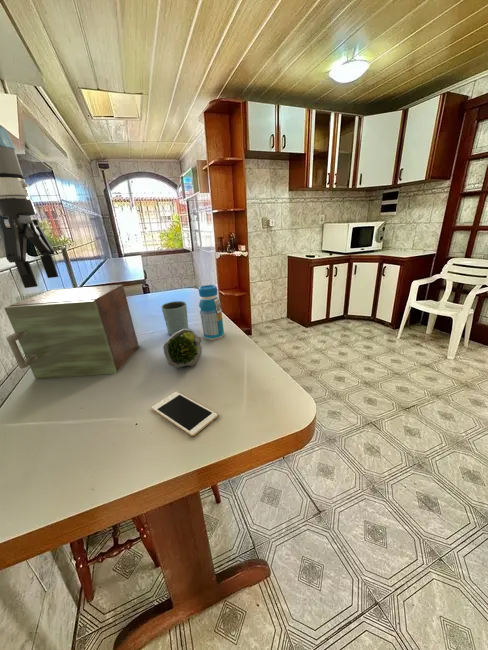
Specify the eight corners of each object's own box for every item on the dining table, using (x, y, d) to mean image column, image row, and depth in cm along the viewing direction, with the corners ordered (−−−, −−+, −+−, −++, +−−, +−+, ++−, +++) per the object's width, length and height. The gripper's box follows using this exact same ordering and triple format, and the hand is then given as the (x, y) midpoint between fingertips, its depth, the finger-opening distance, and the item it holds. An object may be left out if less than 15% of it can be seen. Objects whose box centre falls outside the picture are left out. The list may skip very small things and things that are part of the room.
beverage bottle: (207, 342, 101) (199, 291, 94) (201, 334, 109) (193, 286, 101) (227, 337, 104) (222, 287, 97) (220, 329, 111) (214, 283, 104)
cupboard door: (105, 384, 79) (80, 307, 70) (21, 389, 81) (-15, 314, 71) (117, 371, 86) (95, 299, 77) (38, 376, 87) (8, 306, 78)
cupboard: (117, 371, 86) (95, 298, 77) (39, 376, 88) (8, 305, 78) (138, 346, 103) (123, 284, 94) (72, 350, 104) (50, 289, 95)
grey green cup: (177, 325, 120) (173, 300, 116) (195, 328, 115) (191, 302, 111) (161, 334, 112) (155, 307, 107) (180, 337, 107) (174, 309, 103)
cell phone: (176, 393, 72) (176, 391, 72) (218, 416, 63) (218, 414, 62) (151, 409, 67) (150, 407, 67) (192, 437, 57) (192, 435, 57)
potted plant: (205, 340, 95) (217, 345, 81) (183, 370, 92) (191, 381, 78) (177, 320, 91) (184, 322, 77) (154, 351, 88) (157, 359, 75)
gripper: (0, 193, 57) (37, 290, 65) (50, 201, 79) (73, 272, 87) (-41, 195, 55) (2, 294, 63) (22, 203, 78) (47, 275, 86)
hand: (43, 281), depth 75 cm, fingers open, 13 cm apart
